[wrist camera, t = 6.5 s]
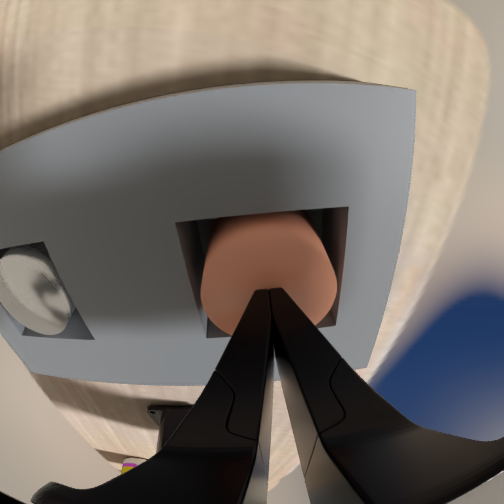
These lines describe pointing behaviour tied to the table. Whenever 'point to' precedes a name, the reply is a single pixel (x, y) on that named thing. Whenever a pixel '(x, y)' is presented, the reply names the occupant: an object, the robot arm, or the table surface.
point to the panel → (203, 216)
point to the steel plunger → (34, 289)
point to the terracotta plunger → (265, 265)
